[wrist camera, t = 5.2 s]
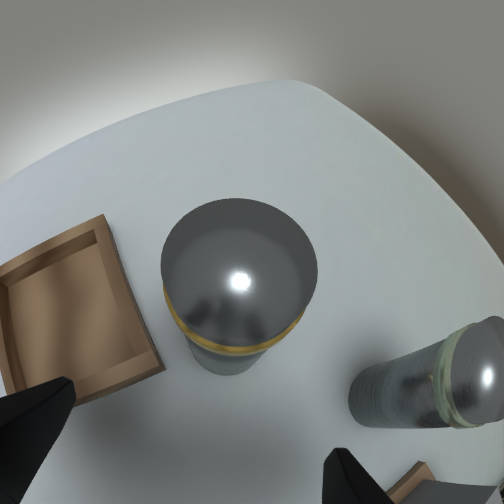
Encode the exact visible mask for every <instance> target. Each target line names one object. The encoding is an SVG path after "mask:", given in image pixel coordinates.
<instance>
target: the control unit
mask: <svg viewBox="0 0 504 504" xmlns="http://www.w3.org/2000/svg"><path fill="white" fill-rule="evenodd" d="M386 494H387V495H388V496H389V497H390V498H391V499H392V500H393V502H394V503H395V504H503V502H502V498H501V495H500V492H499V489H498V486H479V485H465V484H455V483H447V482H440V481H436V480H435V478H434V476H433V474H432V473H431V471H430V469H429V467H428V466H427V464H426V462H420V461H419V462H418V463H417V464H416V465H415V466H414V467H413V468H412V469H411V470H410V471H409V472H408V473H407V474H406V475H405V476H404V477H403V478H402V479H401V480H400V481H399V482H398V483H396V484H395V485H394V486H393V487H392V488H391V489H390V490H389V491H387V492H386Z"/></svg>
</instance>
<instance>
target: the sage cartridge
mask: <svg viewBox="0 0 504 504" xmlns="http://www.w3.org/2000/svg"><path fill="white" fill-rule="evenodd" d="M349 408H350V411H351V414H352V415H353V417H354V418H355V420H356V421H357V422H358V423H360V424H361V425H363V426H366V427H371V428H396V429H421V428H444V427H453V428H457V429H463V428H473V427H479V426H482V425H484V424H486V423H490V422H496V421H500V420H502V419H504V319H503V318H501V317H498V316H491V317H488V318H487V319H485V320H483V321H481V322H479V323H472V324H469V325H467V326H465V327H463V328H461V329H459V330H457V331H455V332H454V333H452V334H451V335H449V336H448V337H447V338H446V339H444V340H442V341H439V342H437V343H435V344H432V345H430V346H428V347H425V348H423V349H420V350H418V351H415V352H413V353H410V354H408V355H405V356H402V357H400V358H397V359H394V360H391V361H388V362H386V363H383V364H380V365H377V366H374V367H371V368H368V369H366V370H364V371H363V372H361V373H360V374H359V375H358V376H357V377H356V379H355V380H354V382H353V384H352V386H351V388H350V392H349Z"/></svg>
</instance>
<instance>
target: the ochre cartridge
mask: <svg viewBox="0 0 504 504" xmlns="http://www.w3.org/2000/svg"><path fill="white" fill-rule="evenodd" d="M317 274H318V269H317V260H316V255H315V252H314V249H313V246H312V244H311V242H310V240H309V238H308V237H307V235H306V234H305V232H304V231H303V230H302V228H301V227H300V226H299V225H298V224H297V223H296V222H295V221H294V220H293V219H292V218H291V217H289V216H288V215H286V214H285V213H284V212H282V211H280V210H279V209H277V208H275V207H273V206H270V205H268V204H265V203H262V202H259V201H255V200H250V199H242V198H231V199H222V200H217V201H213V202H209V203H206V204H204V205H202V206H199V207H197V208H196V209H194V210H192V211H190V212H189V213H188V214H186V215H185V216H184V217H183V218H182V219H181V220H180V221H179V222H178V223H177V224H176V225H175V226H174V228H173V229H172V230H171V232H170V234H169V235H168V237H167V239H166V242H165V244H164V247H163V251H162V255H161V275H162V280H163V291H164V295H165V299H166V302H167V305H168V307H169V310H170V312H171V314H172V316H173V318H174V320H175V322H176V323H177V325H178V327H179V328H180V329H181V331H182V332H183V333H184V334H185V337H186V339H187V341H188V343H189V345H190V348H191V350H192V352H193V354H194V356H195V358H196V359H197V361H198V362H199V363H200V364H201V365H202V366H203V367H204V368H205V369H207V370H208V371H210V372H212V373H215V374H219V375H236V374H239V373H241V372H244V371H245V370H247V369H249V368H250V367H251V366H252V365H253V364H254V363H255V362H256V361H257V360H258V359H259V358H260V357H261V356H262V355H263V354H264V353H265V352H266V351H267V350H268V349H269V348H271V347H272V346H274V345H275V344H277V343H278V342H279V341H281V340H282V339H283V338H284V337H285V336H286V335H287V334H288V333H289V332H290V331H291V330H292V329H293V328H294V327H295V325H296V324H297V323H298V322H299V320H300V318H301V317H302V315H303V313H304V311H305V309H306V307H307V305H308V303H309V302H310V300H311V298H312V296H313V293H314V291H315V287H316V283H317Z"/></svg>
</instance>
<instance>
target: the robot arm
mask: <svg viewBox="0 0 504 504" xmlns="http://www.w3.org/2000/svg"><path fill="white" fill-rule="evenodd" d="M76 398H77V396H76V391H75V386H74V382H73V381H72V380H71V379H69V378H67V377H65V376H60V377H58V378H55V379H52V380H50V381H47V382H44V383H41V384H39V385H36V386H33V387H30V388H27V389H24V390H22V391H19V392H16V393H13V394H10V395H7V396H4V397H1V398H0V504H20V502H21V500H22V498H23V496H24V495H25V493H26V491H27V489H28V487H29V485H30V484H31V482H32V480H33V478H34V476H35V475H36V473H37V471H38V470H39V468H40V466H41V464H42V463H43V461H44V459H45V458H46V456H47V454H48V453H49V451H50V449H51V448H52V446H53V444H54V443H55V441H56V440H57V438H58V436H59V435H60V433H61V431H62V429H63V427H64V425H65V423H66V421H67V418H68V416H69V414H70V412H71V410H72V408H73V406H74V404H75V402H76ZM322 504H395V503H394V502H393V500H392V499H391V498H390V497H389V496H388V495H387V494H386V493H385V492H384V491H383V489H382V488H381V487H380V486H379V485H378V484H377V483H376V482H375V480H374V479H373V478H372V477H371V476H370V475H369V474H368V472H367V471H366V470H365V469H364V468H363V467H362V466H361V464H360V463H359V462H358V461H357V460H356V458H355V457H354V456H353V455H352V454H351V453H350V451H349V450H348V449H347V448H334V449H333V450H332V452H331V453H330V454H329V456H328V457H327V458H326V460H325V462H324V468H323V488H322Z"/></svg>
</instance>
